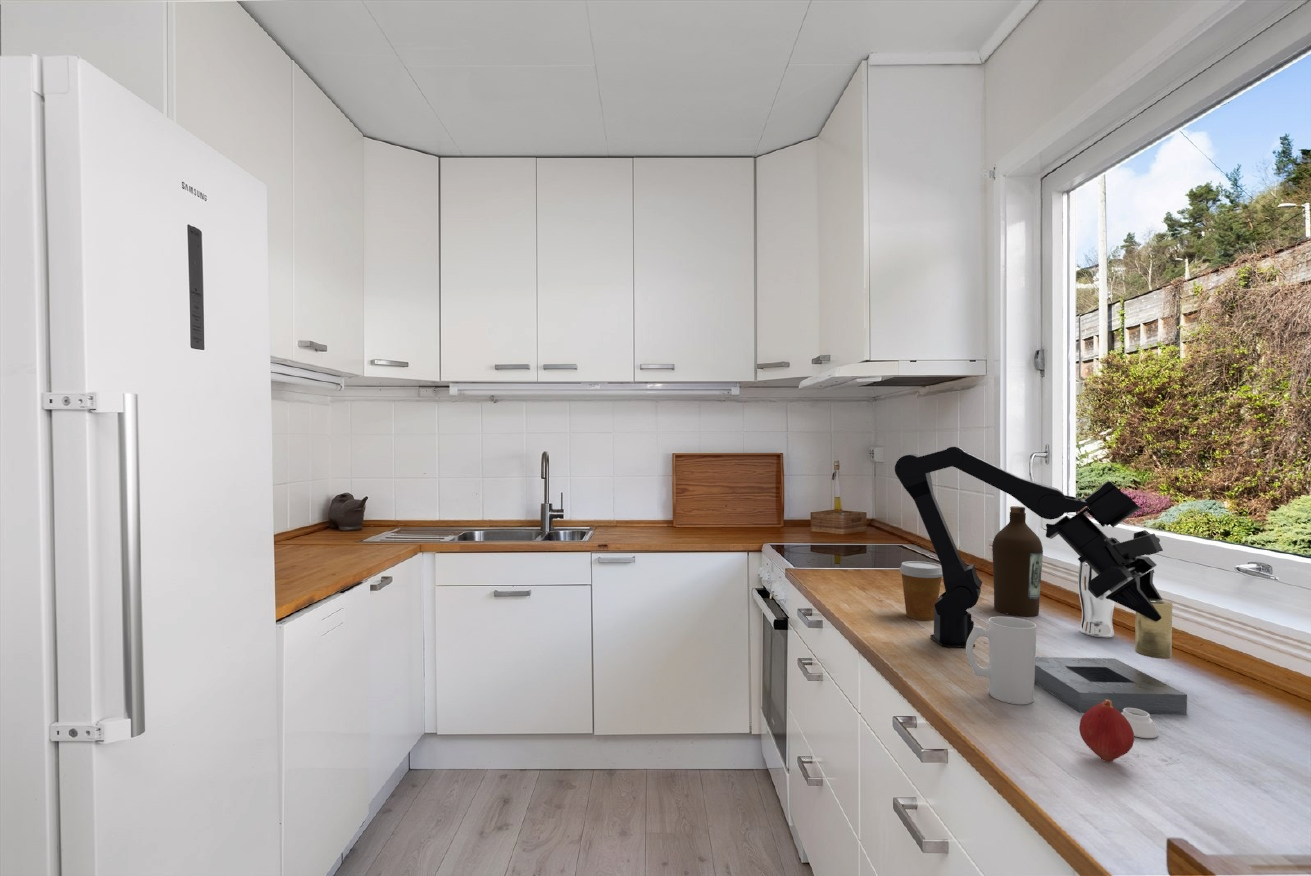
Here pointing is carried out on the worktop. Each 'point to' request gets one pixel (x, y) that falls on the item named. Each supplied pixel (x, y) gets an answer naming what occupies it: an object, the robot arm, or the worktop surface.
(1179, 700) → the plate
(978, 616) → the worktop surface
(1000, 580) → the olive oil
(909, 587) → the disposable coffee cup
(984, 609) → the worktop surface
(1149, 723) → the white jar
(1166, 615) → the brass bushing
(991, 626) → the mug
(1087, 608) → the beer glass
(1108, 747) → the onion
